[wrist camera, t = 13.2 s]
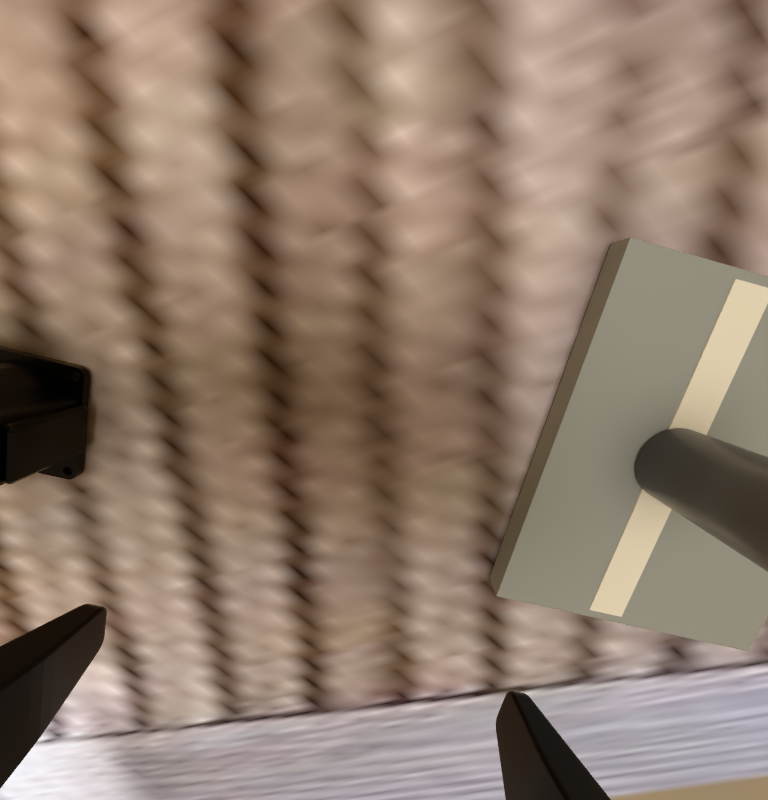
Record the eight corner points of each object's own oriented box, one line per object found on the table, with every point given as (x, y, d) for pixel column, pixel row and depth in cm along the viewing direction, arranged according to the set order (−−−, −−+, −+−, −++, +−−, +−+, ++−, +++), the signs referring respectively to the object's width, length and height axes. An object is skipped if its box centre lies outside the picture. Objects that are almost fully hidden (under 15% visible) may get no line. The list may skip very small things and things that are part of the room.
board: (489, 578, 22) (497, 597, 21) (610, 243, 18) (632, 236, 17) (725, 630, 23) (749, 652, 22) (892, 323, 19) (937, 324, 18)
